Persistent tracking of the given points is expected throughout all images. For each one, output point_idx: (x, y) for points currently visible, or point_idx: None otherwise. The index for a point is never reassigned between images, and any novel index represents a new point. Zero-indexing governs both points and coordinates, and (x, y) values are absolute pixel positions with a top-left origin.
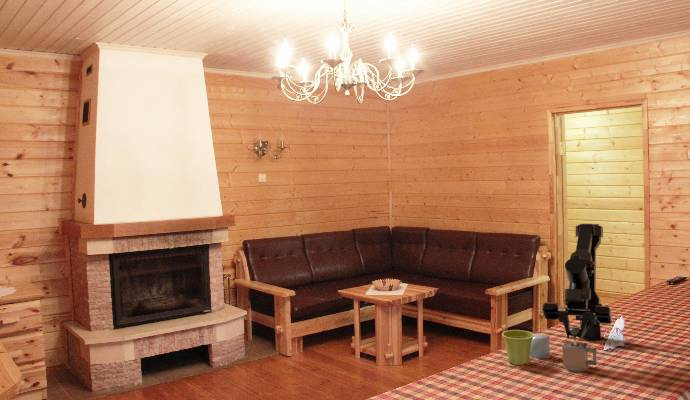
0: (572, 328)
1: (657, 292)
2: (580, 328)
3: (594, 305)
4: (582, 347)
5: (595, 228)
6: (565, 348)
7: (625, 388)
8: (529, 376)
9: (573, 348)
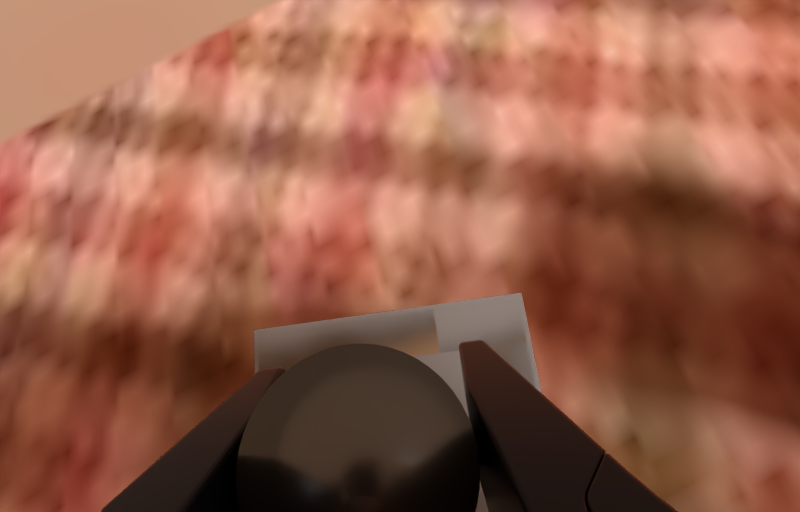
0: (395, 441)
1: None
2: (217, 472)
3: None
4: None
5: None
6: (480, 303)
7: (62, 194)
8: (656, 101)
9: (385, 314)
